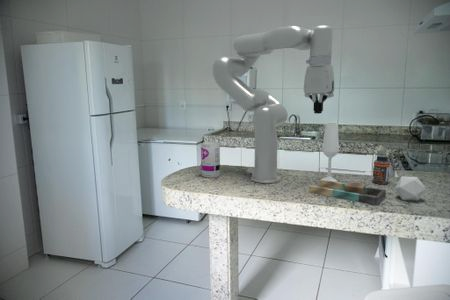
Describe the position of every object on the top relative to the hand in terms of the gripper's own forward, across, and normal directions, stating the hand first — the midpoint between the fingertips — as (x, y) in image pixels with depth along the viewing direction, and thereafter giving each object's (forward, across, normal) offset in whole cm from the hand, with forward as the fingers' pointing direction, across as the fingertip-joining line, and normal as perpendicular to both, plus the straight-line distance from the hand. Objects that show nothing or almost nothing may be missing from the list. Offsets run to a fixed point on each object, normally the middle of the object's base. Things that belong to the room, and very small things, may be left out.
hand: (317, 113), depth 122 cm
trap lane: (+29, +12, 0) cm, 31 cm away
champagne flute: (+29, 0, +15) cm, 33 cm away
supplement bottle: (+29, +18, +24) cm, 42 cm away
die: (+29, +31, +8) cm, 43 cm away
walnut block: (+29, +15, +1) cm, 33 cm away
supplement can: (+29, -45, -9) cm, 54 cm away
